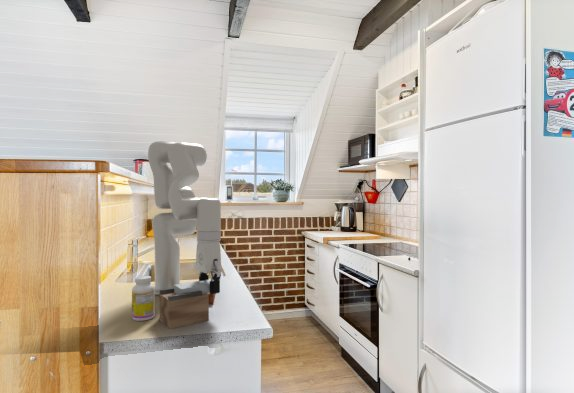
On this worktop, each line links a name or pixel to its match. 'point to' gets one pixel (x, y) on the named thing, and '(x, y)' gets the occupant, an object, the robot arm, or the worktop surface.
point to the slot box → (183, 308)
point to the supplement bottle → (143, 299)
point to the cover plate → (193, 287)
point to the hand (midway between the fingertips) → (209, 290)
